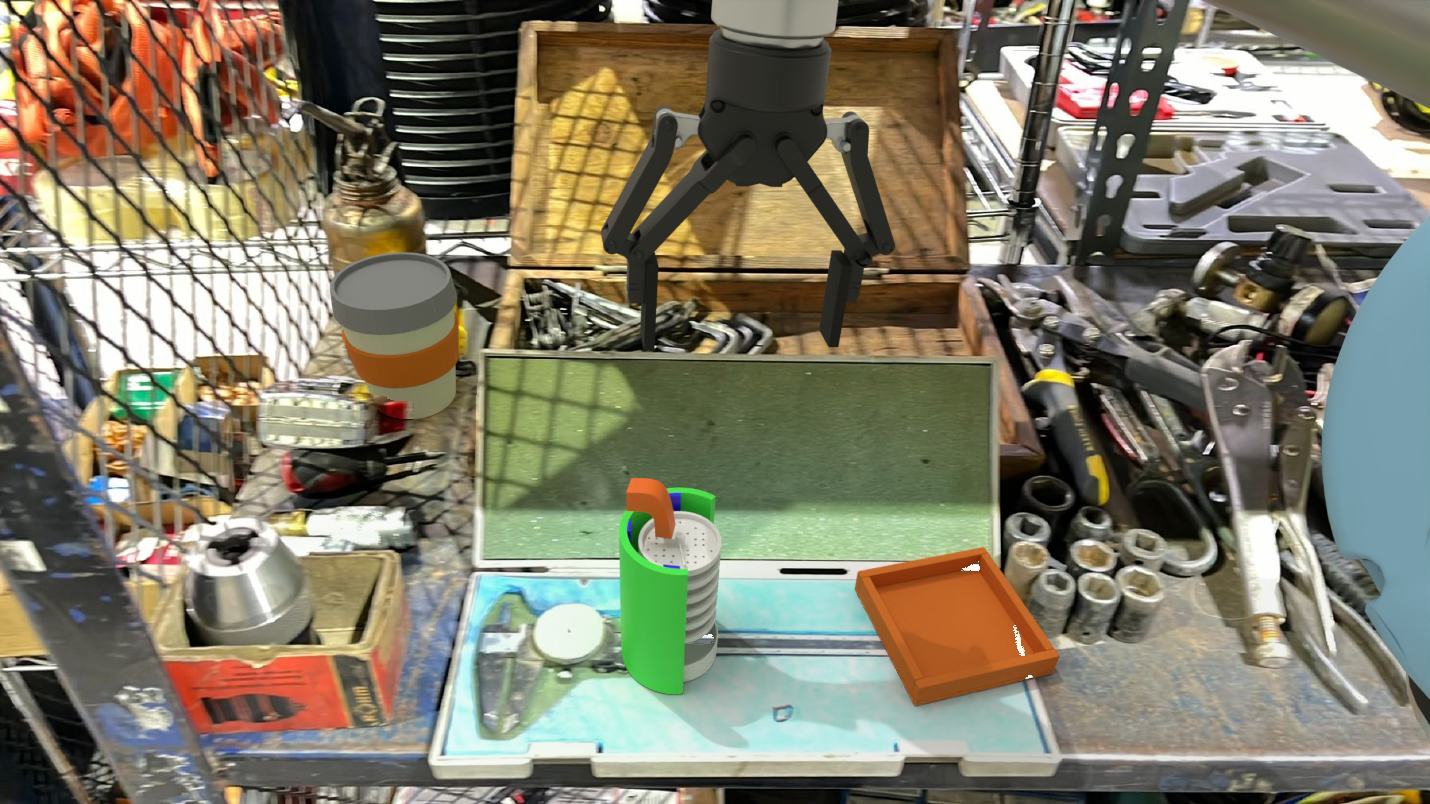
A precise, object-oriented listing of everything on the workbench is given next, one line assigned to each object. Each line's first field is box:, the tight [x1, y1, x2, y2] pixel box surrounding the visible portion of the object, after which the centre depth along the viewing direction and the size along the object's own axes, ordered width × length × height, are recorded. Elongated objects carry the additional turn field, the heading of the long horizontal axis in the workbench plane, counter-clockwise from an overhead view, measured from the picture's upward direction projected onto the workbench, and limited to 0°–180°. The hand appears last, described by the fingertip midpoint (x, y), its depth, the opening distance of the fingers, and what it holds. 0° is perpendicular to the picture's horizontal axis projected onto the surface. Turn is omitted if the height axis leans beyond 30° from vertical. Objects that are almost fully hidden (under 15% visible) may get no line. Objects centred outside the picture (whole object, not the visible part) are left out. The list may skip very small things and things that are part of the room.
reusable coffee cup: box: [329, 251, 460, 421], centre depth 99 cm, size 13×13×15 cm
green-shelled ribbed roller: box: [618, 477, 722, 695], centre depth 71 cm, size 9×8×18 cm
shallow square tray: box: [854, 546, 1061, 707], centre depth 78 cm, size 13×13×2 cm
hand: (739, 340), depth 67 cm, fingers open, 13 cm apart
